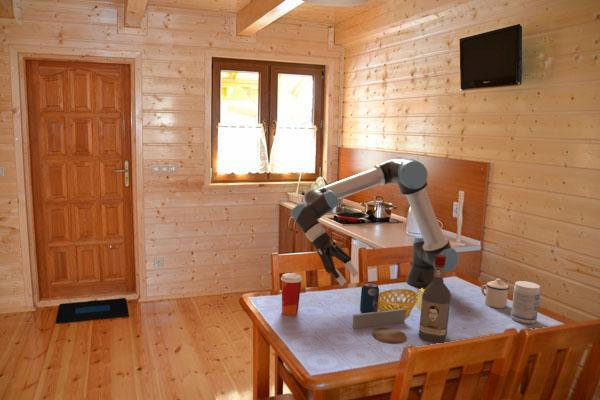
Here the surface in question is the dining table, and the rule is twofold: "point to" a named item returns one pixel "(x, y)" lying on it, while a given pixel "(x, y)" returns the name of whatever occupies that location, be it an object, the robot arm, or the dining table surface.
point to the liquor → (435, 306)
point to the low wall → (378, 318)
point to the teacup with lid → (496, 293)
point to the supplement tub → (525, 302)
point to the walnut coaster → (389, 335)
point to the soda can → (369, 297)
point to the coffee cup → (290, 293)
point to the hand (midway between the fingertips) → (350, 279)
